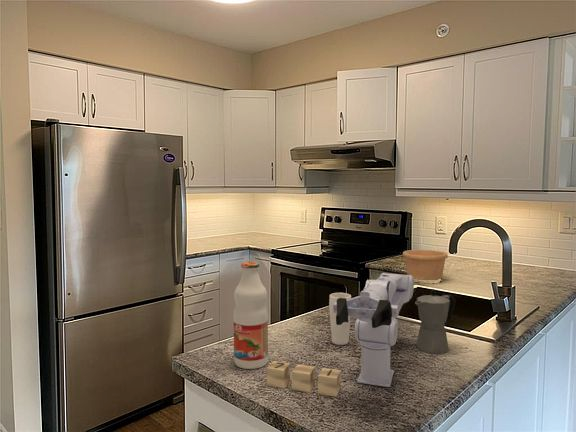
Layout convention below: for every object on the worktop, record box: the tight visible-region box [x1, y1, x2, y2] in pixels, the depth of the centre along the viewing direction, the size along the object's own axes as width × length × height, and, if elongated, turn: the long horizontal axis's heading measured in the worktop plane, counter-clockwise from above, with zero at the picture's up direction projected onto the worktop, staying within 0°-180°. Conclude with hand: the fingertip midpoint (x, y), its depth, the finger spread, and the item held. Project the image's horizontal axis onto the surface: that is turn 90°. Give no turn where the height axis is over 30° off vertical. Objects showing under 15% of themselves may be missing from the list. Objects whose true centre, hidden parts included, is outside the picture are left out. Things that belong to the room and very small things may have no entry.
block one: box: [317, 367, 342, 397], centre depth 104 cm, size 4×4×5 cm
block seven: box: [266, 360, 291, 389], centre depth 108 cm, size 4×4×5 cm
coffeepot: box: [414, 288, 457, 355], centre depth 130 cm, size 15×9×18 cm, turn 115°
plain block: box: [291, 364, 316, 393], centre depth 106 cm, size 4×4×4 cm
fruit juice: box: [233, 261, 269, 370], centre depth 119 cm, size 9×9×28 cm
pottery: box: [402, 249, 449, 280], centre depth 222 cm, size 22×22×14 cm
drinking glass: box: [328, 292, 352, 346], centre depth 135 cm, size 7×7×15 cm
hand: (355, 321), depth 91 cm, fingers open, 7 cm apart
